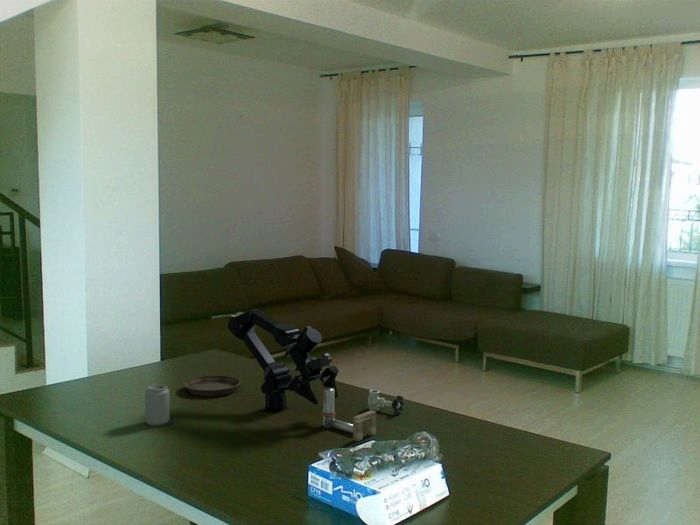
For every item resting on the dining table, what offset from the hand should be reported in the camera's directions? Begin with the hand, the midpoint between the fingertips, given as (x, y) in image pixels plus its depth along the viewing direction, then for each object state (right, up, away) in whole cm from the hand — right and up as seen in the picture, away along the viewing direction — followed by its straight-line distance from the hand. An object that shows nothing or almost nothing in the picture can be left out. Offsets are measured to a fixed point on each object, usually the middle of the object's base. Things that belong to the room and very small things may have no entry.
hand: (327, 400), depth 214 cm
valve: (+19, -7, +15) cm, 25 cm away
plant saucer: (-44, -4, +39) cm, 59 cm away
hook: (+4, -8, -3) cm, 10 cm away
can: (-54, -8, +2) cm, 55 cm away
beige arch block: (+12, -9, -9) cm, 18 cm away
